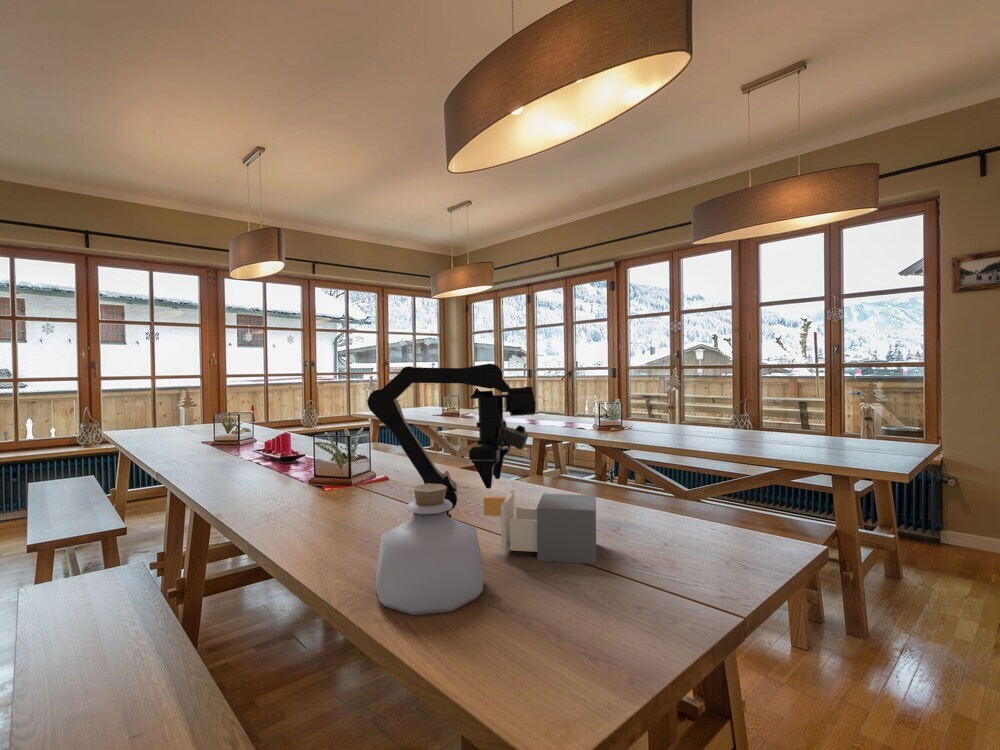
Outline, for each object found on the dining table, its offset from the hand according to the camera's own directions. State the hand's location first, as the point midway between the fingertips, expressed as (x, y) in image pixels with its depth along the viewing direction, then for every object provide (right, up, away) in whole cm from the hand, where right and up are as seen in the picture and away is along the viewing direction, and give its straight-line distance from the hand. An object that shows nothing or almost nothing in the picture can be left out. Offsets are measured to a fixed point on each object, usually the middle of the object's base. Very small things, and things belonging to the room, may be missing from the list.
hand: (493, 483), depth 117 cm
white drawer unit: (+6, -12, -7) cm, 15 cm away
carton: (+16, -13, -8) cm, 23 cm away
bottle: (-11, -14, -26) cm, 32 cm away
